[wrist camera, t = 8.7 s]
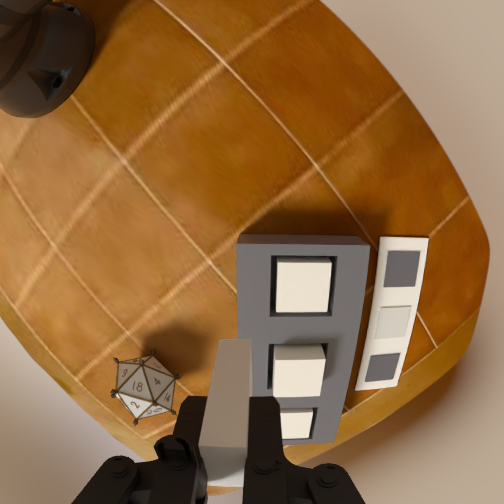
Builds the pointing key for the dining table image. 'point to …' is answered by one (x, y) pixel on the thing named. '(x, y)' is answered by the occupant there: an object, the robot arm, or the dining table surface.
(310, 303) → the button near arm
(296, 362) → the middle button
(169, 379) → the game die
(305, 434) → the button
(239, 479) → the robot arm
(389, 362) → the pattern card
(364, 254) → the button board
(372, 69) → the dining table surface
